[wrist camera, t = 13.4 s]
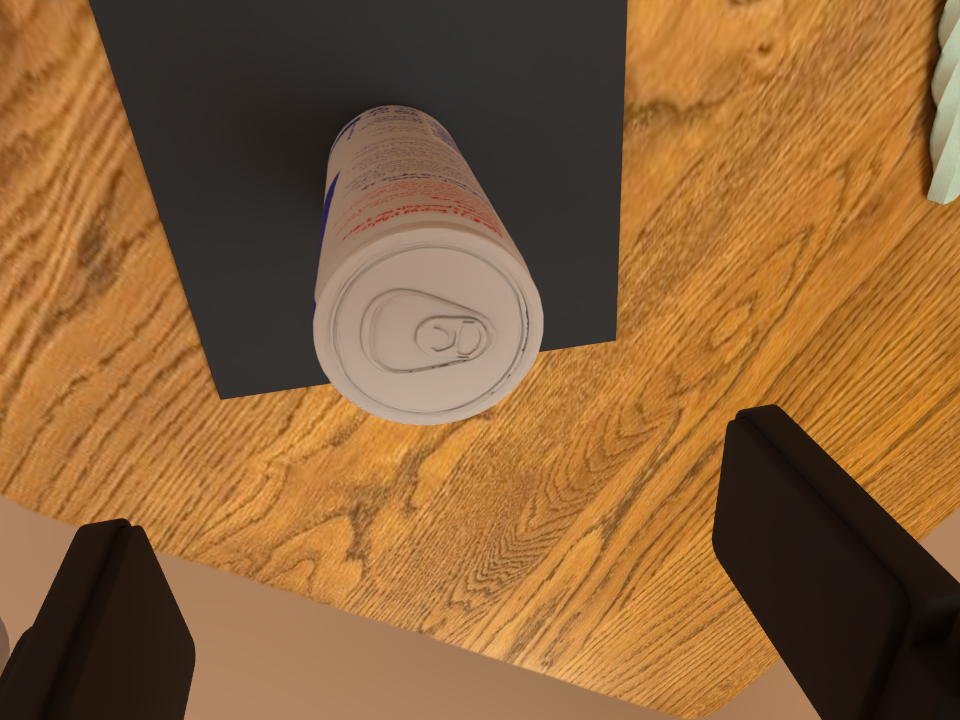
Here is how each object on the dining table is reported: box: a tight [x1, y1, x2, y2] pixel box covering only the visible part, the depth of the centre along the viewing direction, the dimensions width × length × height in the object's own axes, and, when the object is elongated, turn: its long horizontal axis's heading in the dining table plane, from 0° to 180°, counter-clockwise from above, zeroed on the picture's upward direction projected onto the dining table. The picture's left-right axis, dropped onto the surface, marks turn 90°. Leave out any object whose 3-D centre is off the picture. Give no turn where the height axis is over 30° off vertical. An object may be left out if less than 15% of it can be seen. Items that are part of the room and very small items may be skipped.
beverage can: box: [313, 105, 544, 425], centre depth 22 cm, size 6×6×15 cm
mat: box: [89, 0, 627, 400], centre depth 29 cm, size 20×20×1 cm
